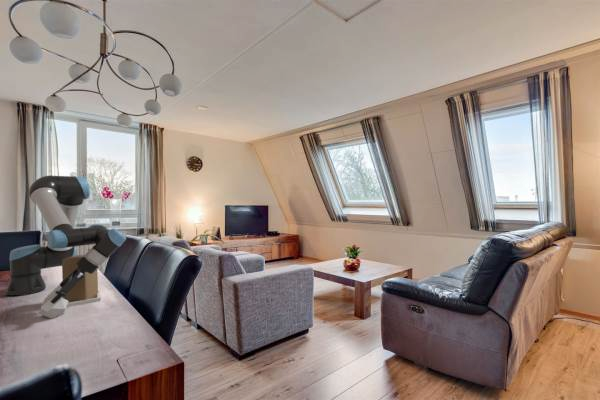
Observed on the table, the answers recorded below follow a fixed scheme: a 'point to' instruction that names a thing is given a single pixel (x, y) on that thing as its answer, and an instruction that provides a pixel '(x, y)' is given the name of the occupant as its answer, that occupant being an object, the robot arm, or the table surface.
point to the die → (55, 308)
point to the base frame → (85, 301)
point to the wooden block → (80, 281)
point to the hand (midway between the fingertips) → (45, 305)
